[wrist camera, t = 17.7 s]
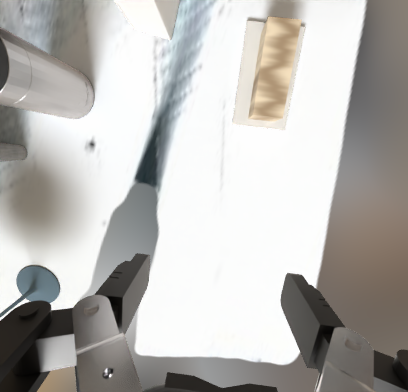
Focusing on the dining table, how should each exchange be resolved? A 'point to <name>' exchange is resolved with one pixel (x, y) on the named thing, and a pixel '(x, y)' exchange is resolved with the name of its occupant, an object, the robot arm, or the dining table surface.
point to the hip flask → (12, 152)
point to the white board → (247, 79)
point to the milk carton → (151, 15)
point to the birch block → (274, 68)
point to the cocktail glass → (36, 286)
